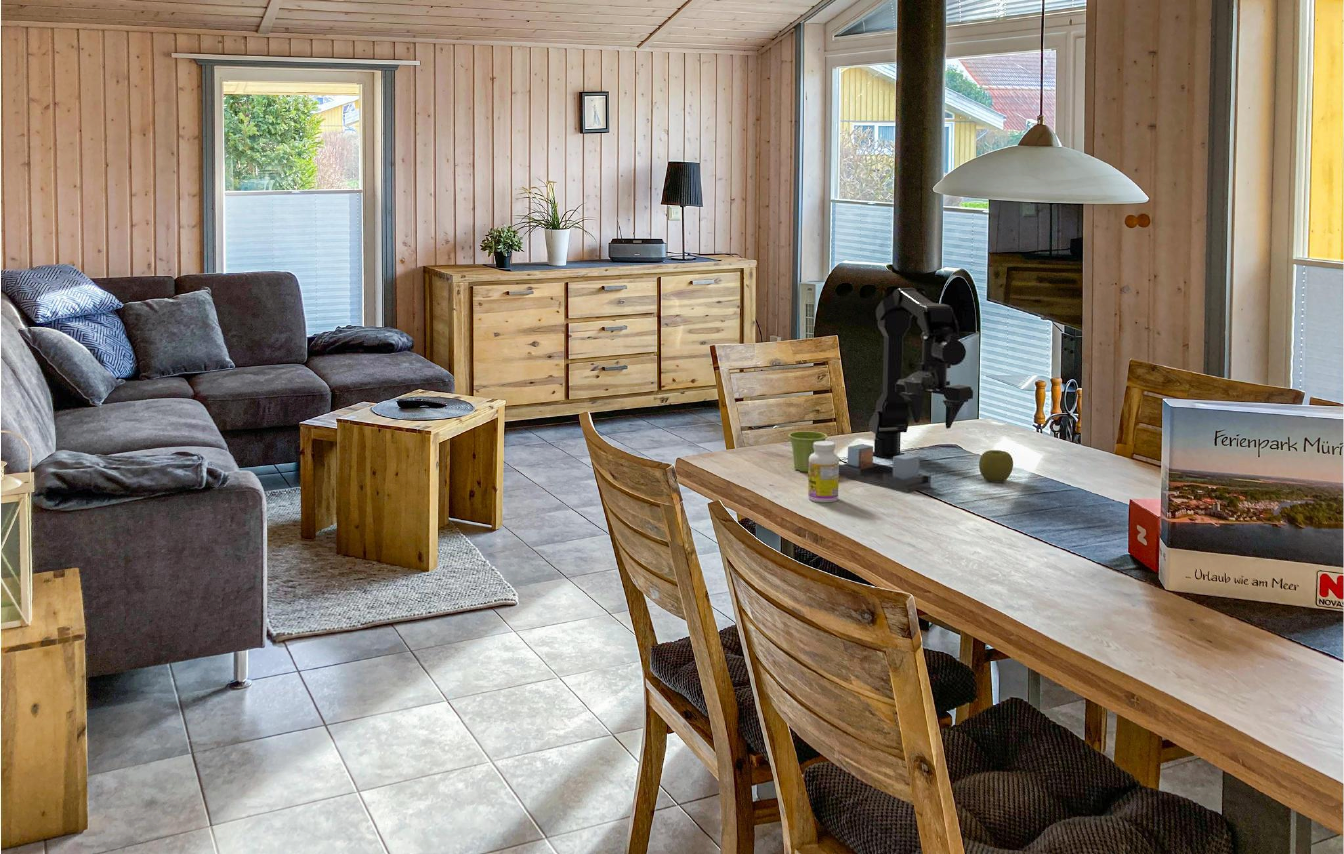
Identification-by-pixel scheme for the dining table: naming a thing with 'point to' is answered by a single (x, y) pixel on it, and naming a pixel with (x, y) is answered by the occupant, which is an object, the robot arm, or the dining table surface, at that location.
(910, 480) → the rail
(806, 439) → the plant pot
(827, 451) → the supplement bottle
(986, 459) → the apple
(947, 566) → the dining table surface
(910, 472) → the block
